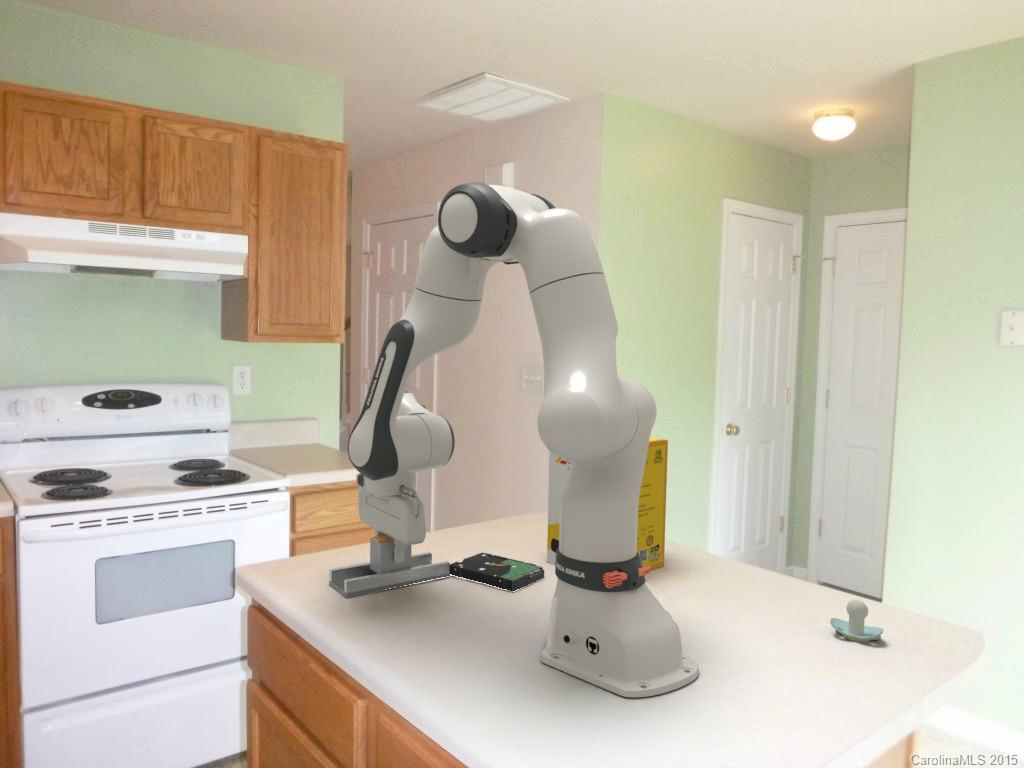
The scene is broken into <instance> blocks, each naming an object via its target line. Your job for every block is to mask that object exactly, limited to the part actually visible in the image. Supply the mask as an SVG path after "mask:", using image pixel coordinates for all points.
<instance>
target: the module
mask: <svg viewBox="0 0 1024 768" xmlns="http://www.w3.org/2000/svg"><path fill="white" fill-rule="evenodd" d="M369 539H370V540H369V544H370V545H369V562H370V569H372V570H373V571H375V572H376V573H378V574H380V573H385V572H390V571H396V570H401V569H407V568H411V555H412V545H408V546H407V548H406V551H405V560H404V561H403V562H400V563H396V562H395V561H393V560H392V551H394V549H395V545H396V544H394V538H392V537H390V536H388V535H383V536H372V537H369Z"/></svg>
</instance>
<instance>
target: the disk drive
mask: <svg viewBox="0 0 1024 768" xmlns="http://www.w3.org/2000/svg"><path fill="white" fill-rule="evenodd" d="M449 573H450V574H452V575H455V576H458V577H463V578H466V579H470V580H474V581H478V582H482V583H486V584H489V585H492V586H496V587H499V588H502V589H507V590H510V591H515V590H517V589H520V588H522V587H524V586H526V587H528V586H529V585H528V584H530V585H532V584H531V583H533V582H535V583H537V582H538V581H537V580H539V581H541V580H543V579H545V569H544V567H543V566H540V565H536V564H534V563H530V562H525V561H522V560H517V559H513V558H508V557H505V556H499V555H497V554H491V553H487V552H480V553H477V554H474V555H472V556H468V557H466V558H464V559H463V560H462V561H461V562H460V561H455V562H452V563H450V569H449ZM542 578H543V579H542ZM540 579H541V580H540ZM536 581H537V582H536ZM533 584H534V583H533ZM527 585H528V586H527ZM524 588H525V587H524ZM522 589H523V588H522ZM520 590H521V589H520Z"/></svg>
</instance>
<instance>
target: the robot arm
mask: <svg viewBox="0 0 1024 768" xmlns="http://www.w3.org/2000/svg"><path fill="white" fill-rule="evenodd" d="M590 233H591V232H590V231H589V228H588V227H587V225H586V222H585V221H584V219H583V218H582V216H581V215H580V214H578V212H576V211H574V210H573V209H570V208H562V207H559V208H558V207H555V205H554V204H553V203H552V202H551V201H549V200H548V199H547V198H545V197H542V196H540V195H539V194H536V193H530V192H529V193H528V192H526V191H523V190H519V189H517V188H514V187H512V186H507V185H506V186H505V185H501V184H487V183H484V182H479V181H478V182H477V181H476V182H474V181H473V182H467V183H462V184H458V185H456V186H454V187H453V188H451V189H450V190H449V191H448V192H447V193H446V194H445V196H444V197H443V199H442V200H441V202H440V205H439V209H438V212H437V226H435V227H434V228H433V229H432V230H431V231H430V232H429V234H428V237H427V240H426V242H425V245H424V247H423V249H422V250H423V251H422V253H421V256H420V261H419V264H418V267H417V271H416V275H415V281H414V285H413V286H414V287H413V290H412V291H413V292H412V295H411V298H410V301H409V303H408V305H407V308H406V309H405V311H404V312H403V314H402V316H401V317H400V318H399V320H398V321H397V322H396V323H394V324H393V325H391V327H390V328H389V330H388V332H387V333H386V336H385V339H384V341H383V343H382V346H381V349H380V352H379V356H378V359H377V360H376V365H375V368H374V371H373V374H372V377H371V381H370V382H369V383H370V384H369V387H368V389H367V394H366V396H365V399H364V402H363V405H362V409H361V412H360V414H359V416H358V418H357V421H356V422H355V424H354V425H353V428H352V429H351V433H350V436H349V437H348V441H347V442H348V443H347V454H348V455H347V456H348V459H349V461H350V463H351V464H352V466H353V467H354V468H355V470H356V471H357V472H358V473H357V474H356V476H355V480H356V481H355V483H356V485H357V486H359V487H358V491H357V502H358V503H357V504H358V505H357V506H358V516H359V518H360V521H361V522H362V523H364V524H365V525H367V526H368V527H369V526H370V527H372V528H373V529H374V537H376V536H383V535H388V536H390V537H392V538H394V544H396V545H395V549H394V551H392V560H393V561H395V562H396V563H400V562H403V561H404V560H405V551H406V548H407V546H408V545H411V546H414V545H419V544H422V543H424V542H425V539H426V535H427V530H426V529H427V528H426V526H427V525H426V515H425V513H426V512H425V506H424V503H423V501H422V500H421V499H420V497H419V495H418V493H417V473H418V472H422V471H429V470H434V469H438V468H441V467H444V466H446V465H447V464H448V462H450V460H451V458H452V456H453V455H454V451H455V445H456V442H455V441H456V440H455V433H454V432H455V431H454V430H453V427H452V425H451V423H450V422H449V421H448V419H446V417H444V416H443V415H440V414H436V413H434V412H432V411H430V410H429V409H427V408H425V407H423V406H422V405H421V404H420V403H419V402H418V401H417V399H416V397H415V395H414V393H412V392H410V391H406V389H407V386H408V383H409V380H410V378H411V376H412V374H413V373H414V371H415V370H416V369H417V368H418V367H419V366H420V365H421V364H423V363H424V362H425V361H427V360H429V359H431V358H432V357H434V356H436V355H439V354H440V353H442V352H445V351H448V350H450V349H452V348H454V347H456V346H458V345H460V344H462V343H463V342H464V341H466V339H468V338H469V337H470V336H471V335H472V334H473V331H474V329H475V328H476V325H477V322H478V320H479V316H480V312H481V306H482V301H483V295H484V290H485V283H486V279H487V276H488V274H489V272H490V269H491V268H492V267H493V266H494V265H496V264H498V263H503V264H505V265H516V264H519V265H520V266H521V268H522V270H523V273H524V277H525V281H526V285H527V288H528V293H529V294H528V295H529V297H530V301H531V305H532V310H533V313H534V317H535V321H536V326H537V330H538V334H539V339H540V343H541V349H542V360H543V397H542V398H543V399H542V403H541V404H540V407H539V410H538V414H537V419H536V420H537V422H536V423H537V425H536V426H537V429H538V430H537V431H538V435H539V437H540V440H541V442H542V443H543V445H544V446H545V447H546V449H547V450H548V452H549V451H550V452H552V453H553V454H554V455H556V456H558V457H560V458H563V459H567V460H572V461H573V462H572V466H571V470H570V474H569V477H568V480H567V482H566V485H565V487H564V489H563V491H562V494H561V498H560V529H559V548H558V549H557V550H556V558H555V565H554V566H555V570H554V574H555V576H556V577H557V582H556V585H555V590H554V594H553V596H552V599H551V602H550V603H551V605H550V612H549V620H548V630H547V636H546V640H545V647H544V648H543V649H542V651H541V654H540V655H541V656H540V657H541V658H540V661H541V662H542V663H543V664H545V665H547V666H549V667H550V666H551V668H552V667H553V668H555V669H556V670H560V671H562V672H565V673H567V674H569V675H572V676H574V677H577V678H579V679H582V680H583V681H585V682H588V683H591V684H593V685H595V686H598V687H600V688H602V689H605V690H606V691H609V692H612V693H614V694H616V695H619V696H621V697H625V698H644V697H645V698H646V697H652V696H657V695H661V694H665V693H668V692H671V691H675V690H677V689H680V688H682V687H685V686H686V685H688V684H690V683H691V682H693V681H694V680H696V678H697V677H698V676H699V674H700V665H699V664H698V663H697V662H695V661H694V660H693V659H691V658H690V657H688V656H686V655H685V654H684V653H682V652H683V651H682V639H681V637H682V636H681V632H680V629H679V626H678V624H677V622H675V620H674V619H673V618H672V615H671V614H670V612H669V611H668V610H666V609H665V608H664V607H663V605H662V604H661V603H660V601H659V600H658V599H657V597H656V596H655V595H654V593H653V592H652V591H651V590H650V588H649V587H648V586H647V584H646V580H647V579H646V576H647V575H651V574H652V573H651V572H650V571H647V570H649V569H650V568H651V566H647V567H642V563H641V559H640V556H639V553H638V552H637V527H638V504H639V494H640V488H641V483H642V478H643V473H644V468H645V463H646V458H647V452H648V446H649V439H650V437H651V434H652V430H653V428H654V425H655V422H656V420H657V411H658V409H657V403H656V400H655V398H654V396H653V395H652V393H651V392H650V391H649V389H648V388H647V387H646V386H644V385H643V384H642V383H639V381H636V380H634V379H632V378H629V377H626V376H620V375H618V368H617V352H616V351H617V350H616V349H617V348H616V343H617V336H618V333H619V327H618V325H619V324H618V320H617V318H616V314H615V310H614V306H613V302H612V298H611V295H610V290H609V288H608V283H607V279H606V278H607V277H606V275H605V272H604V269H603V265H602V262H601V258H600V255H599V252H598V249H597V247H596V245H595V243H594V240H593V238H592V236H591V234H590ZM645 571H647V572H645Z"/></svg>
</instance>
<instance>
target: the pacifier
mask: <svg viewBox="0 0 1024 768" xmlns="http://www.w3.org/2000/svg"><path fill="white" fill-rule="evenodd" d="M846 612H847V614H848V621H846V620H843V619H841V618H840V619H839V618H836V617H835V618H830V620H829V621H830V625H831V627H832V628H833V629H834V630H835V631H836V632H837V633H840V634H841V635H842V637H843V638H845V639H847V640H849V641H853V642H859V643H870V641H877V640H880V639H882V636H881V635H882V634H883V633H884V630H885V629H884V628H882V627H878V626H877V627H876V626H868V625H865V619H866V618H867V616H868V615H869V608H868V606H867V604H866V603H865V602H864V601H862V600H861V599H860V600H859V599H851V600H849V601H848V602H847V605H846Z"/></svg>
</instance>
